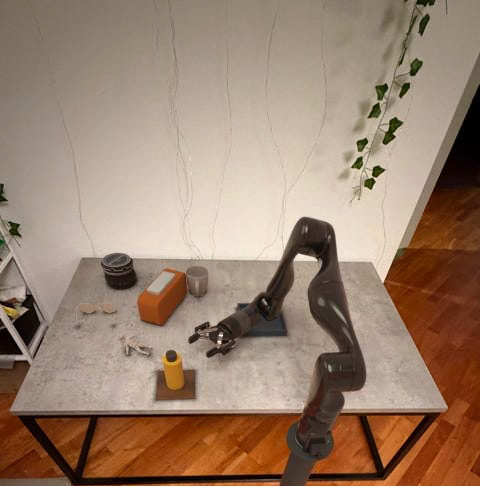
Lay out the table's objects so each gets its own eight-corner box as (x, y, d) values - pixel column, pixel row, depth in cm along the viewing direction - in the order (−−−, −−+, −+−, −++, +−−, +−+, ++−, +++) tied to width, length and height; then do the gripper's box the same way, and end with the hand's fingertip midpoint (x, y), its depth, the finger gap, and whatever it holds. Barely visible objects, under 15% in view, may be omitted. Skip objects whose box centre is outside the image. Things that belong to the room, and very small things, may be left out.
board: (194, 398, 106) (194, 397, 105) (156, 400, 105) (155, 398, 104) (194, 371, 113) (194, 369, 113) (158, 372, 112) (157, 370, 112)
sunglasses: (118, 312, 130) (114, 302, 126) (116, 328, 126) (112, 319, 122) (80, 312, 129) (76, 302, 124) (77, 329, 125) (72, 320, 121)
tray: (286, 335, 127) (287, 330, 125) (241, 336, 125) (241, 331, 123) (279, 307, 137) (279, 302, 135) (237, 308, 135) (237, 303, 133)
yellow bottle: (187, 382, 109) (184, 352, 99) (176, 392, 106) (171, 363, 96) (174, 374, 111) (170, 344, 101) (163, 384, 108) (157, 354, 98)
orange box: (169, 288, 141) (166, 263, 132) (187, 293, 140) (185, 267, 131) (140, 322, 127) (134, 296, 118) (160, 327, 126) (156, 301, 117)
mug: (187, 286, 143) (186, 265, 135) (208, 286, 143) (208, 265, 136) (187, 303, 136) (185, 282, 128) (209, 303, 136) (208, 282, 129)
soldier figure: (143, 363, 116) (111, 347, 114) (147, 362, 120) (116, 346, 119) (153, 343, 114) (120, 326, 113) (156, 343, 119) (125, 326, 118)
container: (110, 272, 146) (104, 250, 138) (140, 274, 146) (135, 252, 139) (102, 289, 139) (95, 266, 131) (133, 291, 139) (128, 269, 131)
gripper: (219, 307, 113) (182, 328, 106) (250, 327, 107) (212, 351, 100) (219, 325, 119) (184, 346, 112) (248, 345, 113) (213, 368, 106)
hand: (197, 348), depth 106 cm, fingers open, 8 cm apart
